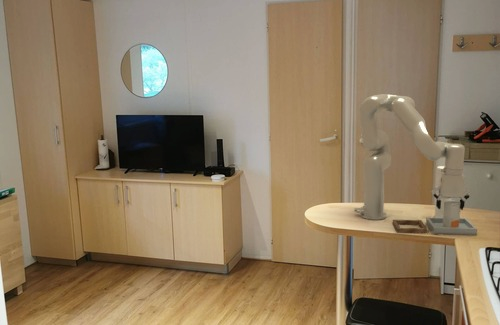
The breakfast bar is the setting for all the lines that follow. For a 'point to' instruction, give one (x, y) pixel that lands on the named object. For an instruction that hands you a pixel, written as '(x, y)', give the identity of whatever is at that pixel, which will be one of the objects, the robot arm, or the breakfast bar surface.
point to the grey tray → (463, 229)
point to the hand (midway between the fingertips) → (449, 208)
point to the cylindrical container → (444, 199)
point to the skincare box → (451, 214)
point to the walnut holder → (409, 230)
